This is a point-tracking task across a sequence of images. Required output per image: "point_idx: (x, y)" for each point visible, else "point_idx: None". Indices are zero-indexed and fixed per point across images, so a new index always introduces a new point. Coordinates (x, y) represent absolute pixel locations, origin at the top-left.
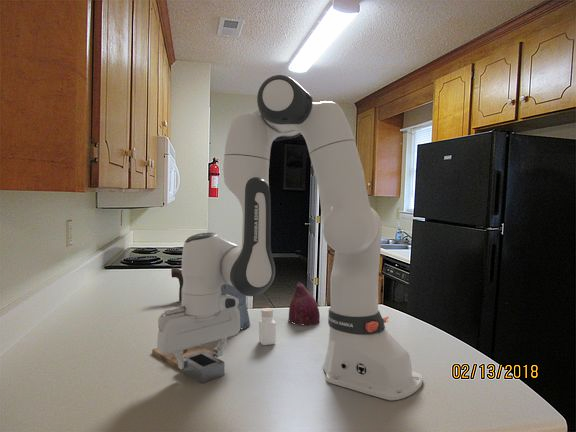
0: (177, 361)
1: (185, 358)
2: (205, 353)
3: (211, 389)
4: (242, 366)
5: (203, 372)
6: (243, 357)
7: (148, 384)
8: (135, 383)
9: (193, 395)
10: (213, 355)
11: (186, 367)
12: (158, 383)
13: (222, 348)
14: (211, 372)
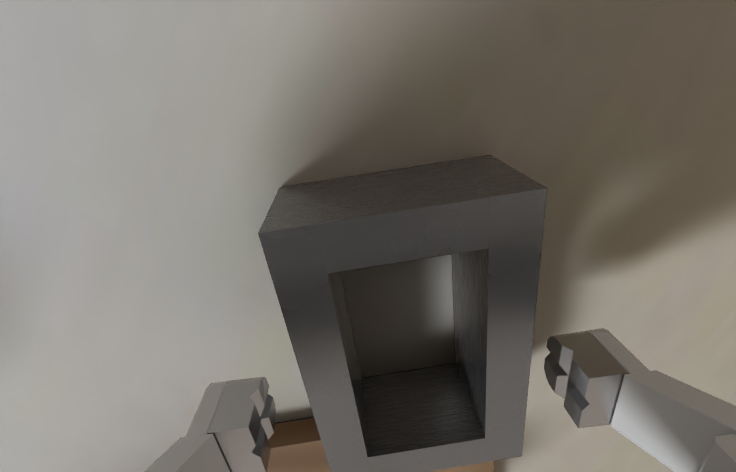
0: None
1: (502, 439)
2: (336, 449)
3: (489, 7)
4: (88, 236)
5: (514, 180)
6: (42, 357)
7: (697, 327)
8: (722, 366)
9: (648, 8)
10: None
11: (557, 335)
12: (660, 311)
13: (187, 442)
14: (416, 185)
